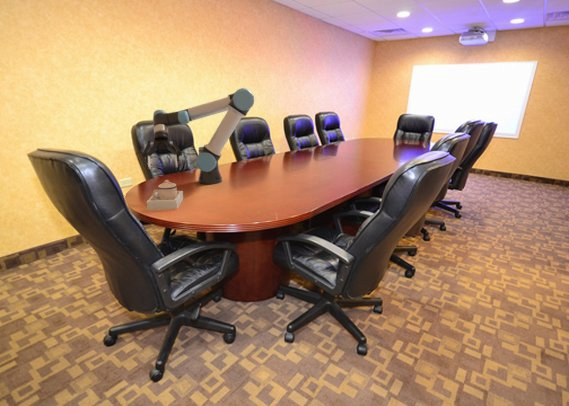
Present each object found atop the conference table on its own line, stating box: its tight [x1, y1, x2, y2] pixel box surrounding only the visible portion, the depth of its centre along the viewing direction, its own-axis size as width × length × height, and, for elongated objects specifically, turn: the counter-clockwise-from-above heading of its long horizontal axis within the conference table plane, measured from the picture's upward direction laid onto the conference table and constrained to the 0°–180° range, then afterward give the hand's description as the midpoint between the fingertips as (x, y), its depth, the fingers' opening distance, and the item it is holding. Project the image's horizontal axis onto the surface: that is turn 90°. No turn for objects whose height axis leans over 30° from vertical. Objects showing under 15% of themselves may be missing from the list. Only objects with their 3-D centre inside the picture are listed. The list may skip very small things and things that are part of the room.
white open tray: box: [146, 190, 184, 211], centre depth 160 cm, size 14×17×4 cm
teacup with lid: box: [152, 179, 178, 200], centre depth 158 cm, size 12×9×12 cm
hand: (163, 166), depth 164 cm, fingers open, 13 cm apart
